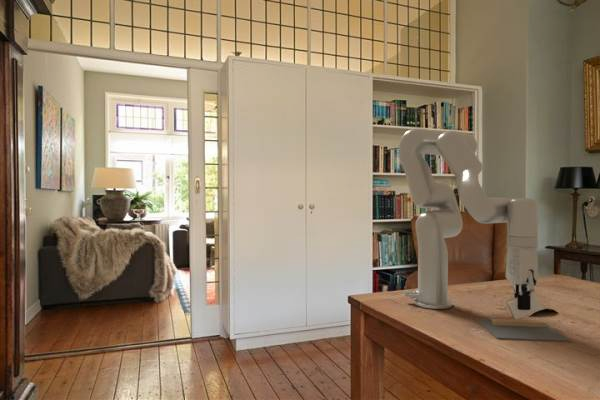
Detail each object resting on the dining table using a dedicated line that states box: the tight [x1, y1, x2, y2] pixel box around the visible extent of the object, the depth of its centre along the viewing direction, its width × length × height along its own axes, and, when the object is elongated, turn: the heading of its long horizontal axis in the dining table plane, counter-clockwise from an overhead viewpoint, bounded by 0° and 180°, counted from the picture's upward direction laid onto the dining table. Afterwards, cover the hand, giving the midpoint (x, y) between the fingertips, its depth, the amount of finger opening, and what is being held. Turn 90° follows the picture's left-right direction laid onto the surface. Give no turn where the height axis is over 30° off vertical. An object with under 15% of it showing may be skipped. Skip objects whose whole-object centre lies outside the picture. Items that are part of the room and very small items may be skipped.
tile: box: [505, 290, 544, 320], centre depth 113 cm, size 8×2×5 cm, turn 85°
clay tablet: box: [504, 304, 559, 317], centre depth 131 cm, size 14×10×3 cm
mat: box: [475, 318, 572, 343], centre depth 112 cm, size 18×16×2 cm
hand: (522, 308), depth 113 cm, fingers closed on tile, 1 cm apart
